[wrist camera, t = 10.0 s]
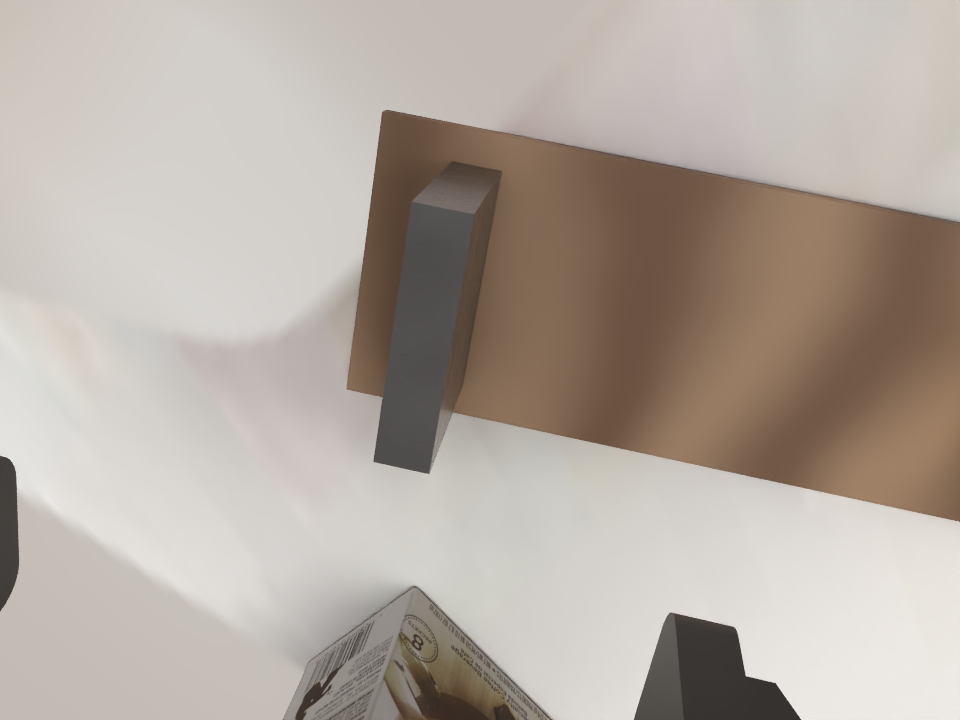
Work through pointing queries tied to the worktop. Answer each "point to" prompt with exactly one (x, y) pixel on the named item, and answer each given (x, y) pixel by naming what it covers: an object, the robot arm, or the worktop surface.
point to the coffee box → (407, 673)
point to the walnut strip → (658, 315)
